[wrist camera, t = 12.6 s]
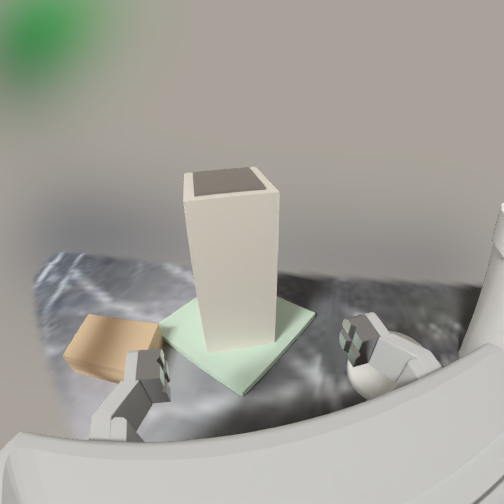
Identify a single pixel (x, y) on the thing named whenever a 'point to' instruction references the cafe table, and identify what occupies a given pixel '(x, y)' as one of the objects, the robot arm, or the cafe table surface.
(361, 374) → the white pebble stone
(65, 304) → the cafe table surface
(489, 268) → the foam cup
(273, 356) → the mat
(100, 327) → the oak block
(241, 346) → the canister
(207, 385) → the cafe table surface
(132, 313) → the cafe table surface
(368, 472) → the robot arm
